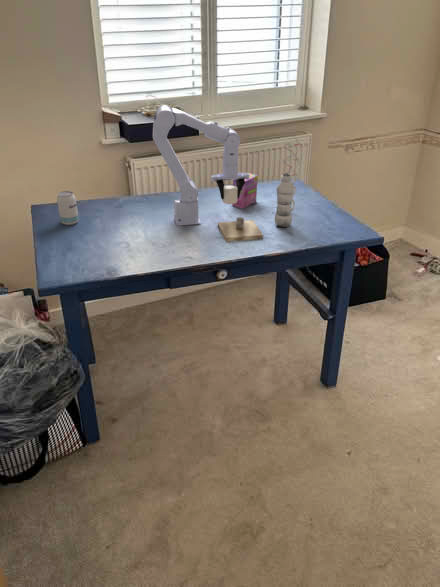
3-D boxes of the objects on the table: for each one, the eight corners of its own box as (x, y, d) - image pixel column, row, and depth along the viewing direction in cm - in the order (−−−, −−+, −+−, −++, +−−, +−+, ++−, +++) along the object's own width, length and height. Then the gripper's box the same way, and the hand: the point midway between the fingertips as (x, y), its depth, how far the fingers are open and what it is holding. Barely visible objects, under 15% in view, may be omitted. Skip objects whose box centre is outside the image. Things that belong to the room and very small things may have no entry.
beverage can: (72, 227, 193) (68, 197, 187) (57, 225, 195) (52, 195, 189) (82, 220, 199) (78, 191, 193) (67, 218, 201) (62, 189, 194)
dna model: (294, 215, 205) (301, 140, 190) (278, 214, 206) (284, 139, 191) (294, 209, 211) (301, 136, 195) (279, 208, 212) (284, 135, 196)
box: (242, 208, 211) (243, 181, 205) (231, 205, 214) (232, 178, 208) (256, 201, 218) (258, 175, 212) (245, 198, 221) (246, 172, 215)
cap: (224, 204, 195) (224, 190, 192) (221, 199, 199) (221, 185, 197) (238, 203, 196) (238, 189, 193) (234, 198, 200) (235, 185, 198)
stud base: (225, 241, 184) (225, 227, 181) (217, 226, 196) (217, 212, 193) (262, 238, 186) (263, 224, 184) (252, 223, 198) (253, 210, 195)
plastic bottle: (290, 229, 193) (295, 178, 183) (273, 227, 195) (276, 177, 184) (292, 222, 199) (296, 173, 188) (275, 221, 200) (278, 172, 190)
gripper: (213, 167, 185) (213, 202, 192) (252, 165, 188) (250, 200, 195) (210, 162, 191) (210, 196, 198) (247, 160, 194) (245, 193, 201)
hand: (229, 197), depth 197 cm, fingers closed on cap, 5 cm apart
